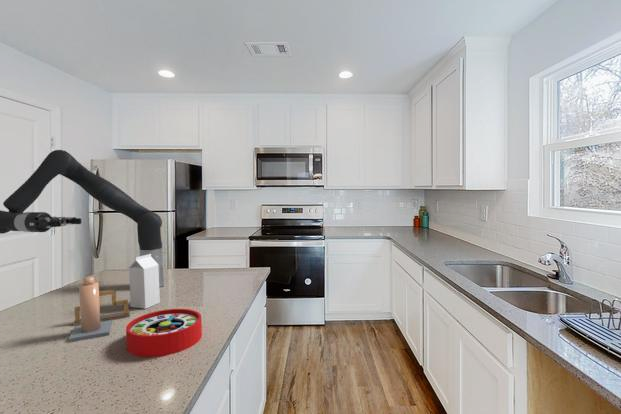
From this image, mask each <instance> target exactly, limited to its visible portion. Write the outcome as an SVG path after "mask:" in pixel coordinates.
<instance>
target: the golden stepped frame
mask: <svg viewBox="0 0 621 414" xmlns="http://www.w3.org/2000/svg"><path fill="white" fill-rule="evenodd" d="M116 292H117V290H116V289H109V290H101V291H100V290H99V297H103V296H108V295H110V296H111V306H112V307H114V306H121V305H123V311H122V312H116V313H110V314H104V315H100V322H104V321H111V320H112V321H113V320H119V319H124V318H130V317H131V311H130V310H129V299H127V298H126V299H122V300H121V299H120V300H117V293H116ZM80 325H81V315H80V305H79V306H78V305H77V306H74V320H73V323H72V326H74V327H75V326H80Z"/></svg>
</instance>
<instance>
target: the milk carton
mask: <svg viewBox="0 0 621 414" xmlns="http://www.w3.org/2000/svg"><path fill="white" fill-rule="evenodd" d="M128 274H129V275H128V276H129V297H130V298H129V299H130V307H131V308H137V309H142V310H143V309H144V310H145V309H148V308H151V307H153V306H155V305H157V304H160V303H161V300H160V295H161V294H160V287H159V268H158V264H157V262H156V261H155V260H154V259H153V258H152V257H151V254H148V255H144V256H140V255H139V256H135V260H134V262H133V263H132V264H130V266H129V267H128Z"/></svg>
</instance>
